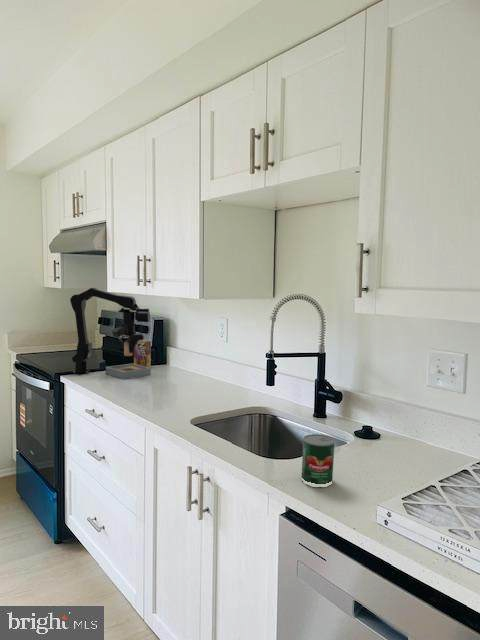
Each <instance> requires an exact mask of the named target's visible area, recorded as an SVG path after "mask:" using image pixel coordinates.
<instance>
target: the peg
mask: <svg viewBox="0 0 480 640" xmlns="http://www.w3.org/2000/svg"><path fill="white" fill-rule="evenodd" d="M123 355H124V357H132V356H133V352H132V353H129V343H128V342H127V341H124V348H123Z"/></svg>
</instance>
